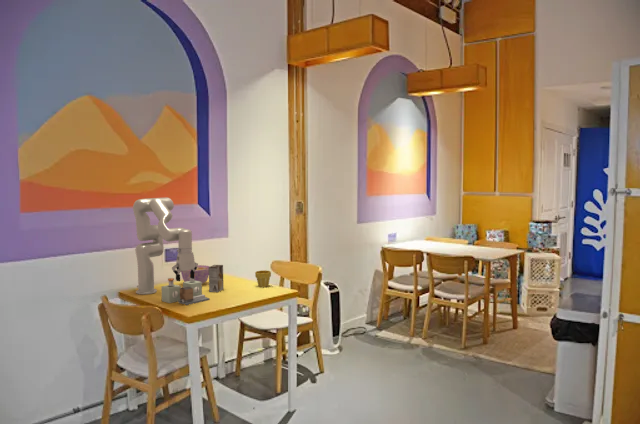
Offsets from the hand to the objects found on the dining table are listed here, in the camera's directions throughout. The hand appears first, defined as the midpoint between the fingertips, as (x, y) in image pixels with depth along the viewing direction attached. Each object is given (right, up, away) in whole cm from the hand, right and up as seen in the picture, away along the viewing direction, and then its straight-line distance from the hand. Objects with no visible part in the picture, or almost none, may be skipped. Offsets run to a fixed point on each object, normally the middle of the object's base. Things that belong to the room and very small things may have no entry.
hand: (185, 279), depth 305 cm
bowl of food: (-6, -10, +50) cm, 51 cm away
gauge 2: (0, -6, +16) cm, 17 cm away
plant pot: (+41, -10, +44) cm, 61 cm away
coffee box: (+12, -11, +32) cm, 36 cm away
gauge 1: (-10, -7, +5) cm, 13 cm away
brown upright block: (+1, -12, +1) cm, 12 cm away
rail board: (+4, -13, +4) cm, 15 cm away
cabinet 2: (0, -12, +17) cm, 21 cm away
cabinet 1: (-10, -13, +6) cm, 17 cm away
